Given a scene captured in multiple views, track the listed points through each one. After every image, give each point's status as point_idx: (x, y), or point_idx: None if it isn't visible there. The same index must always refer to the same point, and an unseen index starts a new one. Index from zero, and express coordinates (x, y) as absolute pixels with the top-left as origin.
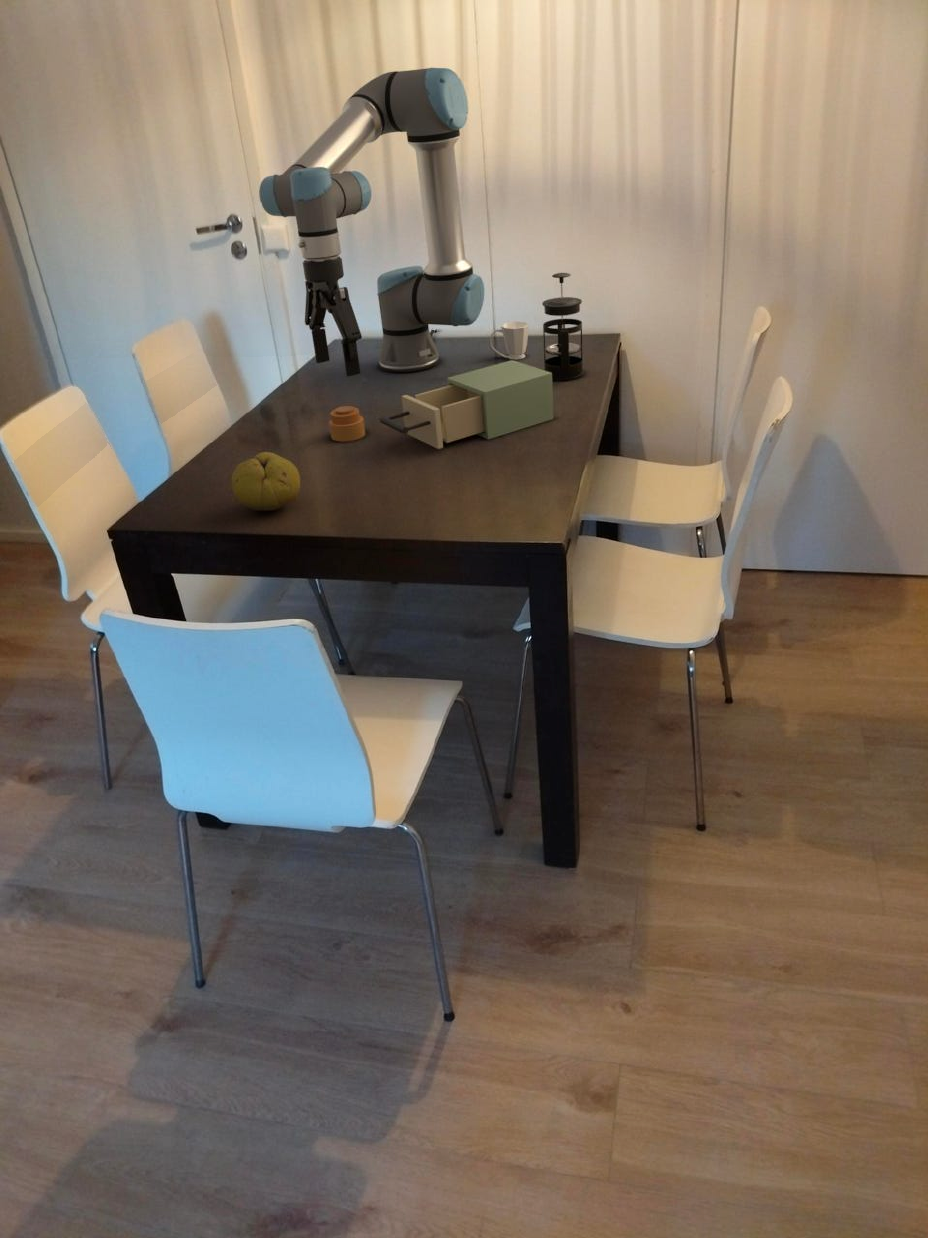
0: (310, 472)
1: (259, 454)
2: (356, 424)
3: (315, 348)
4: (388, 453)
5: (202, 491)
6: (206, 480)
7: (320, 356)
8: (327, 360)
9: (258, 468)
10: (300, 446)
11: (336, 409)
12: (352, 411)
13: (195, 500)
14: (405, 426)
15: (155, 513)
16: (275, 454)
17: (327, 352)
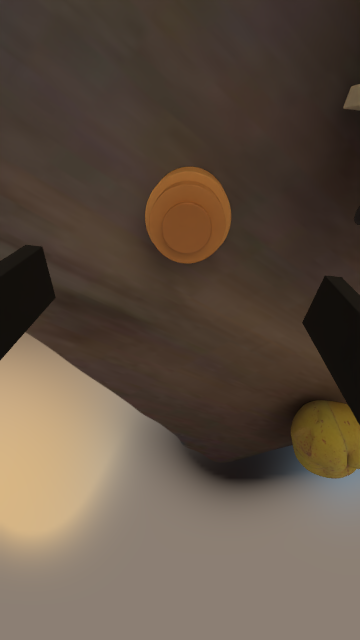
0: (274, 341)
1: (335, 471)
2: (230, 217)
3: (19, 335)
4: (354, 215)
5: (205, 418)
6: (180, 407)
7: (38, 296)
8: (43, 257)
9: (352, 472)
10: (166, 300)
11: (174, 246)
12: (209, 216)
13: (220, 427)
14: (357, 107)
15: (216, 447)
16: (343, 454)
17: (22, 267)
